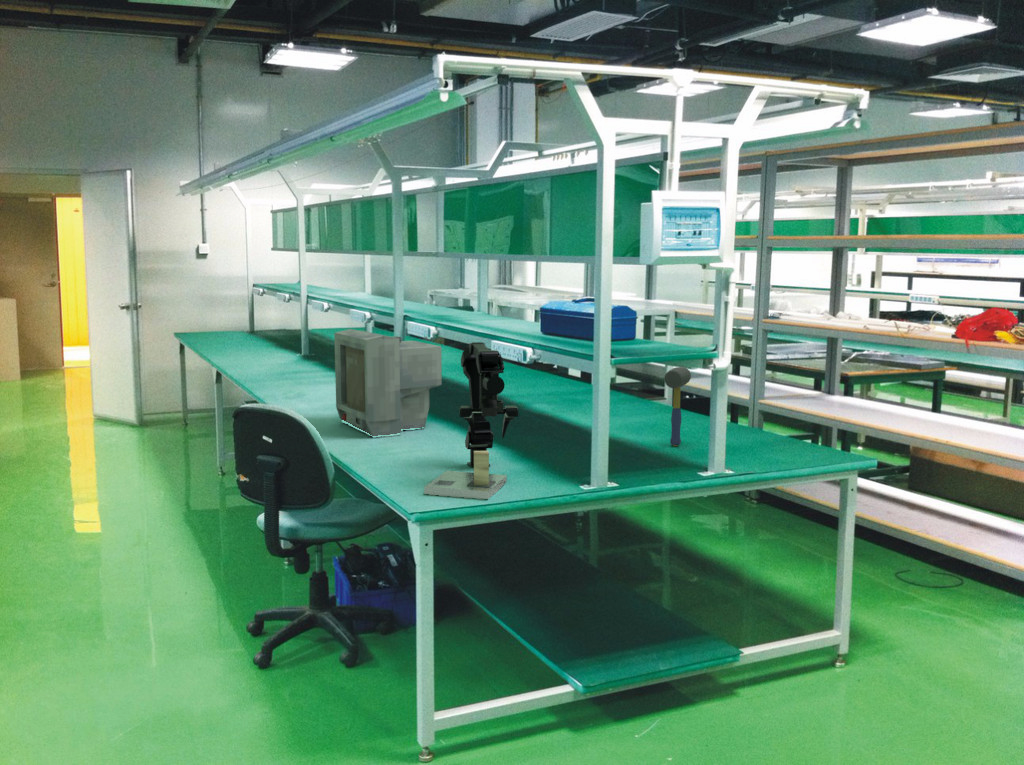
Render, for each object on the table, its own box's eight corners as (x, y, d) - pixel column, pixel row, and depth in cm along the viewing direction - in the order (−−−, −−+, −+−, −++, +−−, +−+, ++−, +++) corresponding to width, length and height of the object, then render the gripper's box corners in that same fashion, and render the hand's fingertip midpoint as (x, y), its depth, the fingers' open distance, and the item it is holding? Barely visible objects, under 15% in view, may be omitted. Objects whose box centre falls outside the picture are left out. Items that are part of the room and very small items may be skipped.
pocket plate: (446, 478, 279) (446, 469, 278) (506, 482, 273) (506, 474, 273) (424, 494, 259) (424, 485, 259) (488, 499, 254) (488, 490, 254)
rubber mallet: (671, 441, 335) (673, 365, 331) (689, 444, 332) (692, 366, 327) (660, 448, 324) (663, 368, 320) (679, 450, 321) (682, 370, 316)
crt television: (335, 423, 369) (333, 329, 363) (414, 415, 388) (413, 326, 382) (369, 439, 336) (367, 337, 330) (453, 430, 355) (452, 333, 349)
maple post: (473, 481, 264) (473, 450, 263) (488, 481, 264) (488, 450, 263) (474, 485, 260) (474, 454, 258) (488, 484, 260) (488, 454, 259)
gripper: (459, 393, 268) (459, 443, 270) (519, 393, 269) (519, 442, 271) (459, 388, 279) (459, 436, 281) (517, 388, 280) (516, 435, 282)
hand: (488, 437), depth 279 cm, fingers open, 9 cm apart
